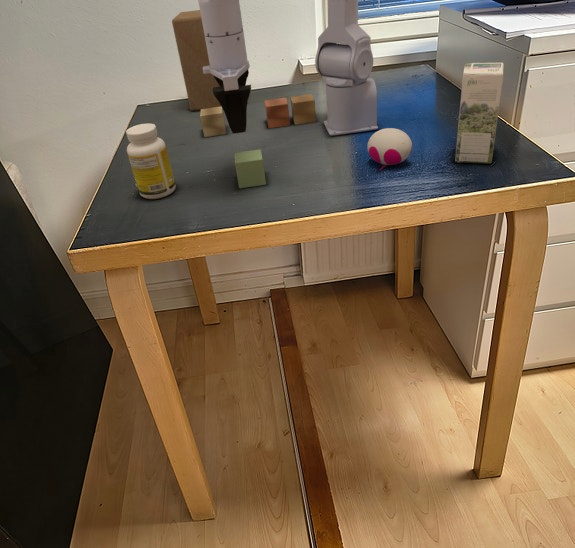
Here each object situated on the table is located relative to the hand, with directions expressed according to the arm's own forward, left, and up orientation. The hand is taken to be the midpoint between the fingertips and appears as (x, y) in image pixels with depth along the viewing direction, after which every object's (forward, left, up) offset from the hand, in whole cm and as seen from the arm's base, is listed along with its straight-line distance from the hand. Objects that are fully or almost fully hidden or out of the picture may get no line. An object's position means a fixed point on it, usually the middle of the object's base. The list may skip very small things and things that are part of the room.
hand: (238, 124), depth 83 cm
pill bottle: (+15, +1, -10) cm, 18 cm away
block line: (-4, -25, -9) cm, 27 cm away
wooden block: (+6, -46, -10) cm, 48 cm away
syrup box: (-38, +5, -10) cm, 39 cm away
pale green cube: (-1, +2, -9) cm, 9 cm away
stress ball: (-24, +3, -10) cm, 26 cm away
